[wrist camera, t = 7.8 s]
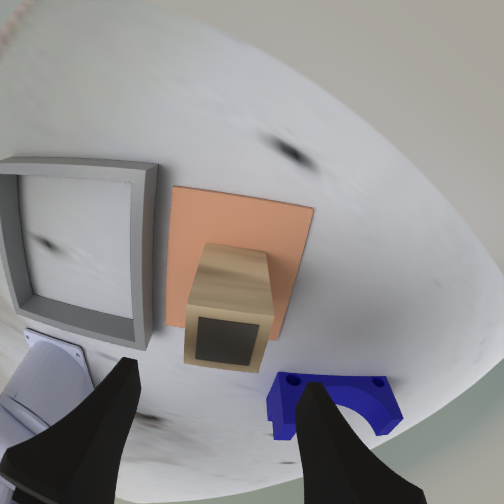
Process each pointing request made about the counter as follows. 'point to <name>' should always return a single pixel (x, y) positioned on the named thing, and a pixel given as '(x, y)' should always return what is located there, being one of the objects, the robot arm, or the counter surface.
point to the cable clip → (342, 393)
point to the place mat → (233, 242)
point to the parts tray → (141, 248)
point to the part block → (229, 309)
